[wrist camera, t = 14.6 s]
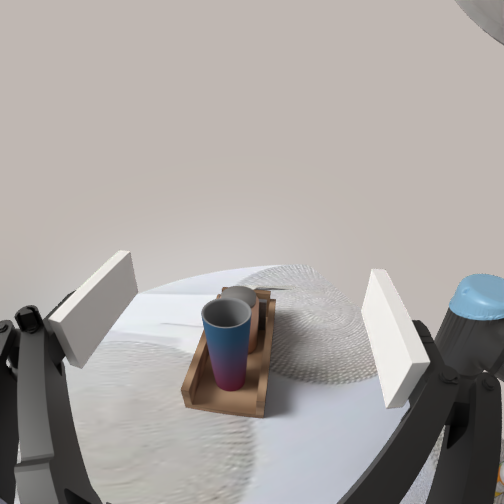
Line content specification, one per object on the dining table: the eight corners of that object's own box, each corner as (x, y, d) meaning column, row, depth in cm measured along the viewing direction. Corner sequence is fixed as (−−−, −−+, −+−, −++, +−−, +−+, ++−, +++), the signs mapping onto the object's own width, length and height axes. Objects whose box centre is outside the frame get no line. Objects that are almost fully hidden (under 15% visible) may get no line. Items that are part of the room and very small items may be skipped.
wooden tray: (263, 418, 39) (265, 393, 36) (185, 407, 40) (178, 381, 37) (274, 317, 62) (276, 291, 59) (218, 312, 63) (217, 286, 60)
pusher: (265, 330, 56) (266, 295, 52) (220, 326, 57) (217, 291, 53) (265, 327, 57) (267, 292, 53) (221, 322, 58) (219, 288, 54)
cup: (256, 372, 46) (259, 303, 40) (241, 401, 41) (239, 333, 34) (221, 361, 49) (215, 293, 42) (203, 387, 43) (191, 319, 36)
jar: (242, 326, 58) (242, 280, 53) (264, 345, 53) (267, 297, 48) (214, 340, 54) (210, 292, 49) (234, 361, 49) (233, 313, 44)
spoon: (228, 289, 73) (228, 283, 72) (305, 283, 76) (306, 277, 75) (229, 298, 69) (229, 293, 68) (310, 291, 72) (311, 286, 72)
